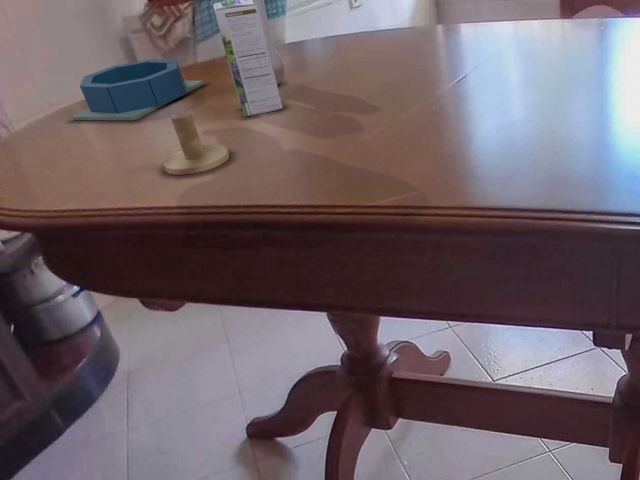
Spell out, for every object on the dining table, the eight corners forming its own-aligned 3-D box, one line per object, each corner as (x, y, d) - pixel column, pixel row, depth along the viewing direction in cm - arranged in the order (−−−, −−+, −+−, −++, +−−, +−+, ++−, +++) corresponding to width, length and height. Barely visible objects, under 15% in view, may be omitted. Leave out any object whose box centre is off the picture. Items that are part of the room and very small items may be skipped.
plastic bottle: (294, 79, 117) (259, -59, 105) (277, 91, 111) (239, -52, 99) (258, 80, 118) (220, -55, 106) (240, 93, 113) (198, -48, 101)
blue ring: (88, 119, 107) (76, 92, 105) (96, 95, 118) (85, 70, 116) (186, 100, 110) (177, 74, 108) (185, 78, 122) (176, 54, 119)
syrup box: (241, 107, 106) (209, 3, 98) (279, 99, 108) (252, -4, 99) (245, 117, 102) (212, 9, 93) (285, 109, 103) (256, 1, 95)
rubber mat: (135, 120, 106) (133, 116, 106) (73, 120, 110) (71, 116, 109) (204, 83, 120) (203, 80, 119) (147, 84, 123) (146, 81, 123)
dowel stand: (164, 180, 85) (145, 131, 81) (165, 159, 91) (147, 112, 87) (231, 165, 87) (215, 117, 83) (227, 145, 93) (212, 99, 89)
